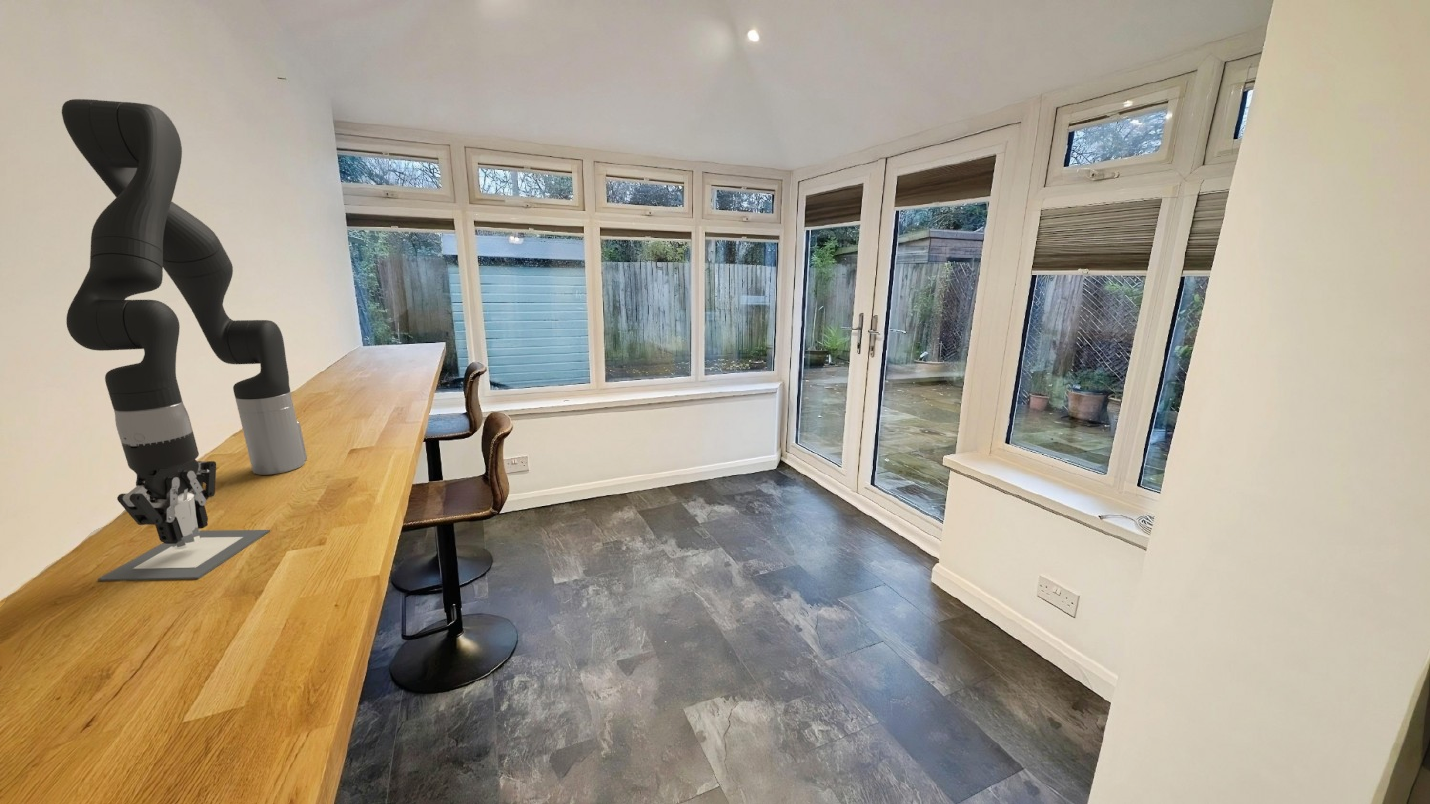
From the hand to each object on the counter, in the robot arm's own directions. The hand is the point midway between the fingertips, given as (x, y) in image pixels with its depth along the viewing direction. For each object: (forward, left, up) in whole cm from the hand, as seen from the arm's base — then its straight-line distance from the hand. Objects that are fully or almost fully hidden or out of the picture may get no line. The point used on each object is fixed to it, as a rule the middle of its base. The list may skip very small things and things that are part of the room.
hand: (186, 534), depth 83 cm
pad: (0, 0, -3) cm, 3 cm away
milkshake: (0, 0, -2) cm, 2 cm away
